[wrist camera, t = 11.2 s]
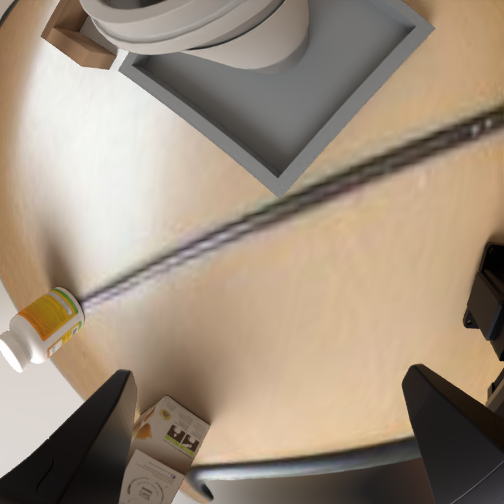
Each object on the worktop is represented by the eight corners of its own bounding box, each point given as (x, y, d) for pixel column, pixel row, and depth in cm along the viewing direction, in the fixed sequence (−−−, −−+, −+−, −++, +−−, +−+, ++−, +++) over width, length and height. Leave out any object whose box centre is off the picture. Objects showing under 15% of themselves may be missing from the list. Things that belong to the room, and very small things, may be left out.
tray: (426, 37, 12) (435, 28, 11) (285, 192, 18) (279, 198, 17) (252, -67, 12) (243, -81, 10) (135, 73, 18) (118, 70, 16)
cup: (288, 114, 16) (195, 84, 5) (194, 66, 16) (36, 26, 6) (349, 19, 13) (351, -120, 2) (250, -22, 13) (150, -134, 2)
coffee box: (165, 392, 30) (87, 507, 15) (212, 425, 30) (151, 544, 16) (138, 415, 34) (75, 505, 19) (178, 443, 34) (124, 536, 20)
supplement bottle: (48, 281, 29) (-14, 324, 20) (78, 291, 27) (11, 342, 19) (60, 321, 31) (5, 366, 22) (90, 333, 30) (33, 386, 21)
